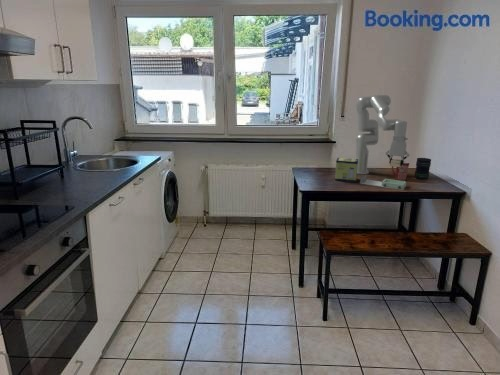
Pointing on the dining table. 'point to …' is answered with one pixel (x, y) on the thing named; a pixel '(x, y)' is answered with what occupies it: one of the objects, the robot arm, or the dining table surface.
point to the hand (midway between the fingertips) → (396, 164)
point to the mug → (401, 171)
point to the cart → (393, 183)
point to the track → (375, 183)
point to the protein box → (346, 169)
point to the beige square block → (395, 162)
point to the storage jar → (422, 168)
